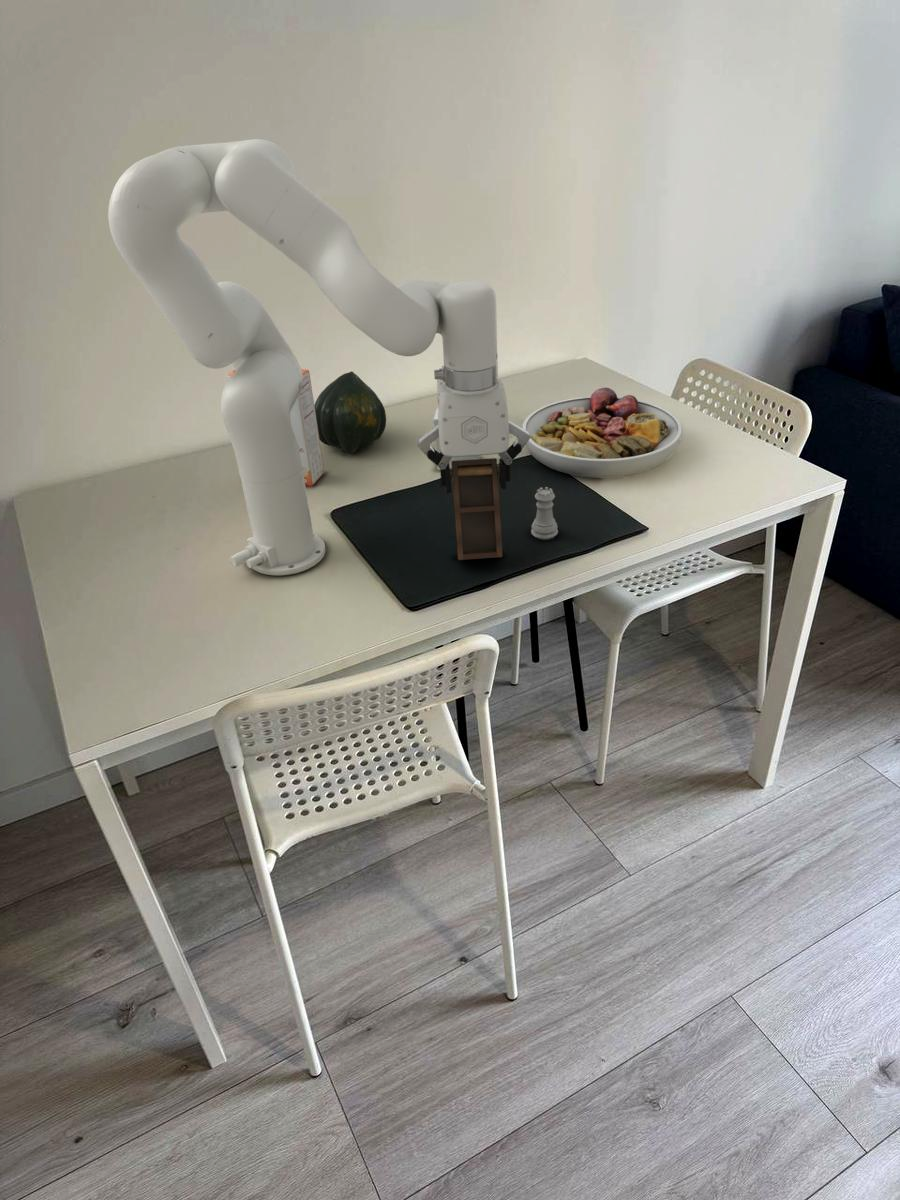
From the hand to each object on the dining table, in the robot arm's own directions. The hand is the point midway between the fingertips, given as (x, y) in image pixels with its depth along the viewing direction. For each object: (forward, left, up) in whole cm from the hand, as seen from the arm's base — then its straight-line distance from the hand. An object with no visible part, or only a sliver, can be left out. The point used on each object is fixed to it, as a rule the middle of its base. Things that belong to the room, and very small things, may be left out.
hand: (475, 486), depth 132 cm
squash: (+17, +49, -12) cm, 53 cm away
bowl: (+44, +7, -12) cm, 46 cm away
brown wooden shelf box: (+2, +2, -5) cm, 6 cm away
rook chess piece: (+12, -4, -12) cm, 18 cm away
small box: (+23, +25, -12) cm, 36 cm away
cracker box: (-1, +48, -12) cm, 49 cm away
